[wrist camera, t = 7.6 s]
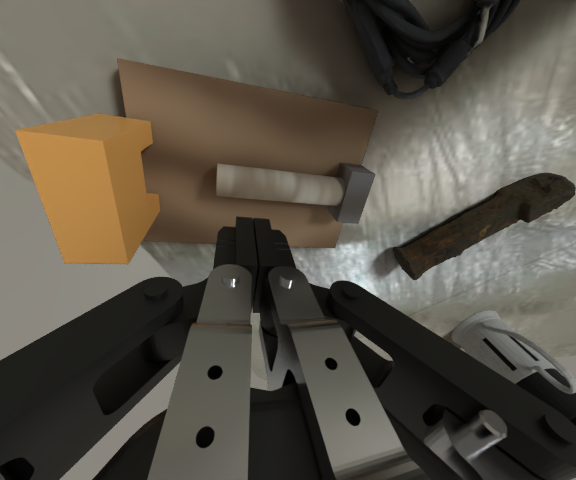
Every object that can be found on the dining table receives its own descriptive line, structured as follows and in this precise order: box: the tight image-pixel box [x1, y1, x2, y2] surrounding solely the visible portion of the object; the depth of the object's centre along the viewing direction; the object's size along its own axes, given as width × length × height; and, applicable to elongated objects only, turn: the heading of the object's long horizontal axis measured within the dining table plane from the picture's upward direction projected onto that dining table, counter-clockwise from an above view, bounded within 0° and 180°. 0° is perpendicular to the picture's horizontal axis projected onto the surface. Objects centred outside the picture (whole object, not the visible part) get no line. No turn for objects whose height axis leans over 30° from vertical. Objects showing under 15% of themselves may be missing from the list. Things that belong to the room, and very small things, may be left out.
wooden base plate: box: [117, 58, 378, 248], centre depth 20 cm, size 13×18×4 cm
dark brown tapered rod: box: [393, 173, 576, 280], centre depth 27 cm, size 19×4×5 cm, turn 118°
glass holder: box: [451, 310, 576, 426], centre depth 35 cm, size 9×14×15 cm, turn 24°
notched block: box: [15, 114, 160, 264], centre depth 15 cm, size 7×3×7 cm, turn 170°
